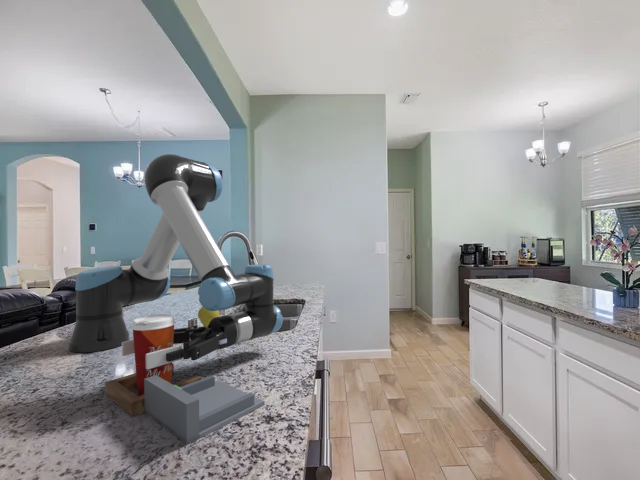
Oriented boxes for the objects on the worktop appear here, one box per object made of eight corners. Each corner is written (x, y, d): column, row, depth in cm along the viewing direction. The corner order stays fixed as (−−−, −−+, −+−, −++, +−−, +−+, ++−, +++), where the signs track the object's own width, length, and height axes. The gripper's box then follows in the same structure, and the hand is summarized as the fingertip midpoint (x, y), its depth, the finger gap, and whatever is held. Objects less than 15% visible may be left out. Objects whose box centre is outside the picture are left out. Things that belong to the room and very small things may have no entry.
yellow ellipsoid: (207, 338, 102) (206, 307, 102) (193, 335, 105) (193, 305, 105) (223, 333, 107) (223, 303, 108) (210, 330, 111) (210, 301, 111)
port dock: (187, 444, 48) (186, 404, 48) (144, 412, 57) (144, 378, 57) (264, 404, 59) (264, 372, 59) (218, 383, 69) (218, 355, 69)
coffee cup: (158, 403, 60) (157, 323, 61) (121, 399, 62) (120, 322, 62) (185, 383, 69) (184, 313, 69) (152, 381, 70) (151, 312, 70)
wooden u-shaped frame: (131, 416, 56) (131, 402, 56) (105, 394, 64) (105, 382, 64) (201, 389, 66) (201, 377, 66) (170, 372, 75) (170, 362, 75)
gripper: (260, 355, 72) (161, 391, 55) (204, 337, 87) (112, 360, 70) (260, 321, 72) (160, 347, 55) (203, 309, 87) (112, 326, 70)
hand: (133, 355), depth 62 cm, fingers open, 11 cm apart
